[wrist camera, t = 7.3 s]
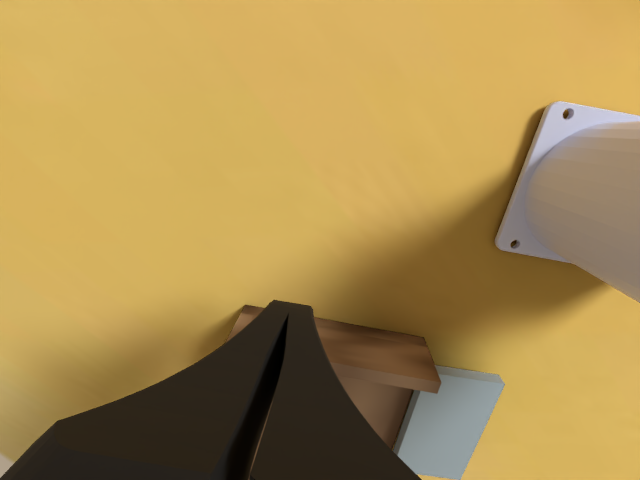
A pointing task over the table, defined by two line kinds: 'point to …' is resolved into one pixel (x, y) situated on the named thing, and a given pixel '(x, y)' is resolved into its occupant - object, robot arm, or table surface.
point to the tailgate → (447, 422)
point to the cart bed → (371, 369)
